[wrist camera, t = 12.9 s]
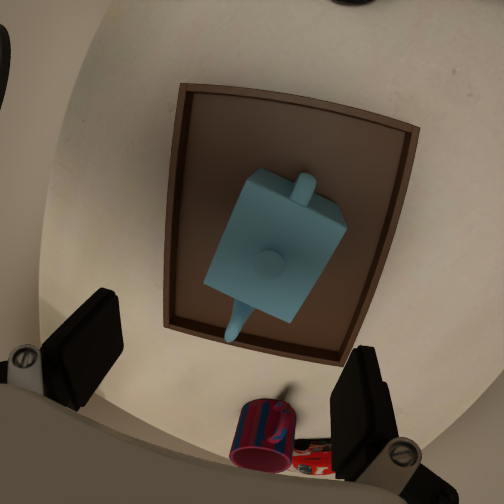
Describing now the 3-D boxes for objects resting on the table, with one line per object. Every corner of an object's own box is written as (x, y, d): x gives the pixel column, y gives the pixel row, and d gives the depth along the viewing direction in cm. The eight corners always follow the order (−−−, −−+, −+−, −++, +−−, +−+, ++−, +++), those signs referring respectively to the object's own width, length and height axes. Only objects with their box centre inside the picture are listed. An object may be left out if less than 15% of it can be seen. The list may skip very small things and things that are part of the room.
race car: (379, 432, 32) (382, 457, 28) (372, 452, 34) (374, 474, 30) (279, 437, 34) (276, 461, 31) (281, 455, 36) (278, 478, 33)
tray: (171, 315, 29) (163, 327, 27) (189, 86, 21) (179, 82, 19) (342, 353, 28) (343, 367, 26) (411, 127, 19) (420, 127, 17)
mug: (232, 418, 34) (220, 461, 28) (268, 374, 30) (258, 425, 24) (279, 435, 34) (273, 478, 28) (322, 395, 30) (321, 445, 24)
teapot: (277, 308, 26) (265, 368, 19) (213, 279, 26) (182, 330, 19) (346, 184, 21) (364, 209, 14) (271, 147, 21) (254, 155, 14)
